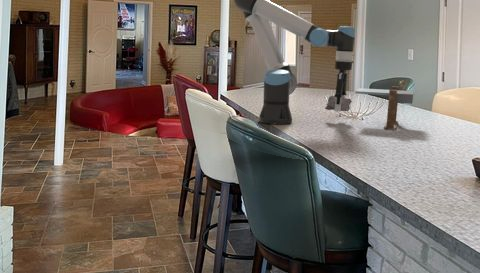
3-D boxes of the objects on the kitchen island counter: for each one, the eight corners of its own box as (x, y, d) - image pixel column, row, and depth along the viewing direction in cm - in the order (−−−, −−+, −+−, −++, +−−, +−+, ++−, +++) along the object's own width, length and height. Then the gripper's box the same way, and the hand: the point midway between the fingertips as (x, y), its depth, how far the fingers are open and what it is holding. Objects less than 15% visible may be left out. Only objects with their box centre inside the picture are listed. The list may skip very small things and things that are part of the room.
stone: (349, 113, 212) (350, 98, 211) (323, 110, 217) (324, 95, 215) (352, 111, 219) (354, 96, 218) (327, 108, 224) (328, 94, 222)
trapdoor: (354, 100, 206) (355, 91, 206) (359, 96, 221) (359, 88, 220) (412, 103, 198) (413, 94, 197) (412, 99, 213) (413, 91, 212)
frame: (383, 129, 201) (386, 90, 198) (387, 121, 222) (390, 86, 218) (395, 130, 200) (399, 90, 196) (398, 122, 220) (401, 86, 216)
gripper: (348, 62, 202) (343, 113, 207) (355, 60, 221) (350, 108, 226) (331, 61, 205) (326, 112, 209) (339, 59, 224) (334, 106, 229)
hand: (339, 110), depth 218 cm, fingers closed on stone, 8 cm apart
